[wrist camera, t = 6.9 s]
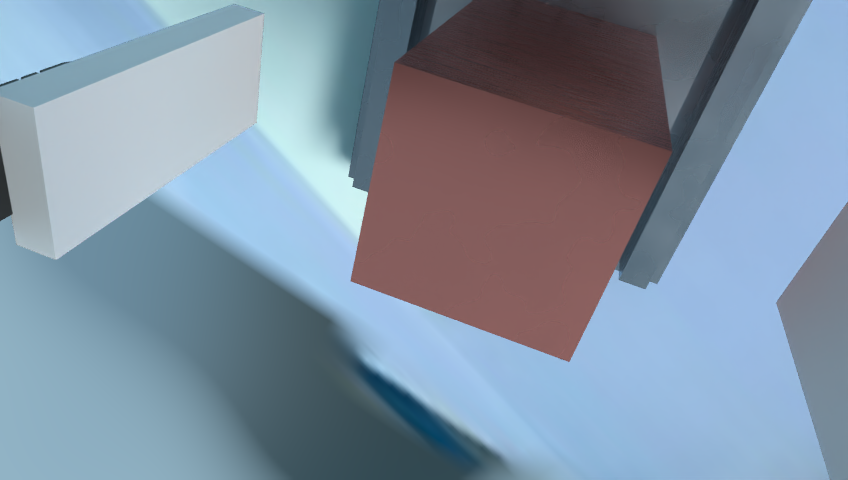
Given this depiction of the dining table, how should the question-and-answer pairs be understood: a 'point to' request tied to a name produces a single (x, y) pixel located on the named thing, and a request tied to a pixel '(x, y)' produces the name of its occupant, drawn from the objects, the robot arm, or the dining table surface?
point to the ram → (526, 157)
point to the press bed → (690, 134)
